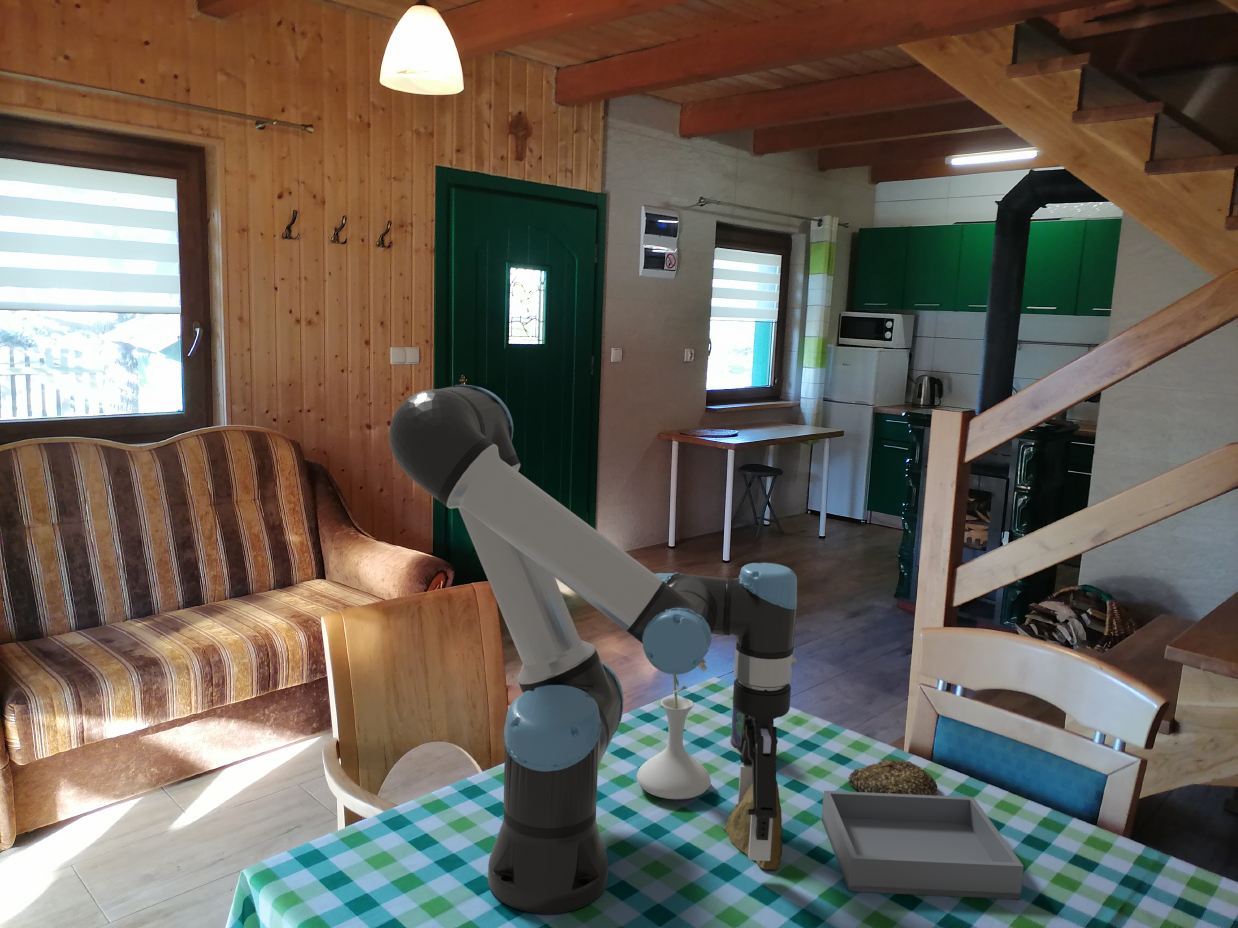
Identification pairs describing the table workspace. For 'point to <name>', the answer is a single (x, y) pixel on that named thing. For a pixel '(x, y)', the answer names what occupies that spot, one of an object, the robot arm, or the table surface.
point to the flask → (736, 728)
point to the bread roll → (893, 779)
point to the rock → (741, 829)
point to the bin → (919, 845)
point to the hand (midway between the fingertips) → (753, 832)
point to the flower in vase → (675, 757)
